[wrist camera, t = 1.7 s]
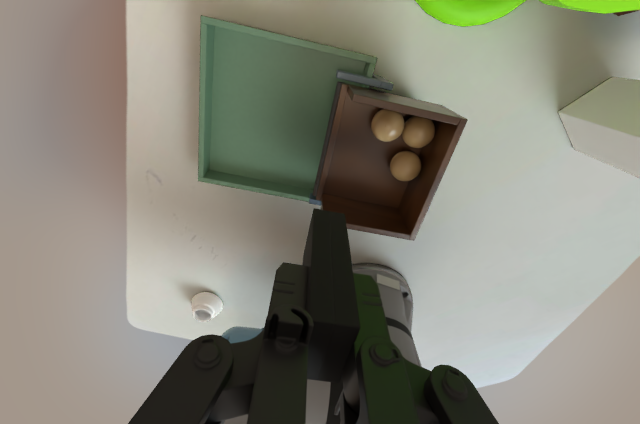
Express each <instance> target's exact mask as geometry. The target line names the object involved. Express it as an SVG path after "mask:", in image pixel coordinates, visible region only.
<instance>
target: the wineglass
mask: <svg viewBox="0 0 640 424" xmlns="http://www.w3.org/2000/svg"><path fill="white" fill-rule="evenodd" d="M415 1H416V2H417V3H418V4H419V5H420V7H421V8H422V9H423V10H424V11H425V12H426V13H427V14H429V15H431V16H432V17H434V18H436V19H437V20H439V21H441V22H443V23H446V24H452V25H457V26H462V27H464V26H473V25H482V24H485V23H488V22H490V21H493V20H495V19H498V18H500V17H503V16H505V15H506V14H508V13H509V12H511V11H512V10H514V9H515V8H516V7H518V6H519V5H521V4H522V3H524V2H525V1H526V0H415ZM539 1H541V2H542V3H544V4H547V5H552V6H557V7H562V8H567V9H571V10H576V11H585V12H594V13H603V14H606V13H615V12H623V11H632V10H640V0H539Z"/></svg>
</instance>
